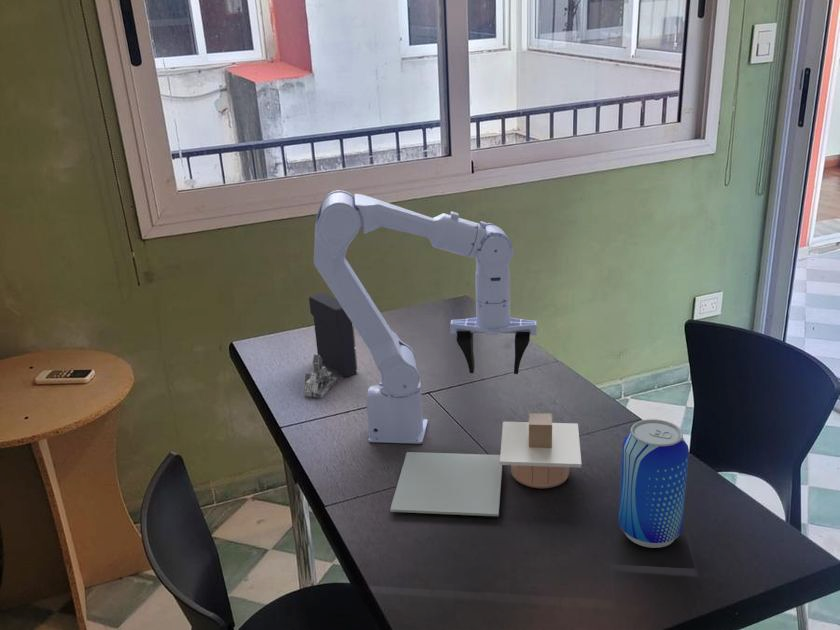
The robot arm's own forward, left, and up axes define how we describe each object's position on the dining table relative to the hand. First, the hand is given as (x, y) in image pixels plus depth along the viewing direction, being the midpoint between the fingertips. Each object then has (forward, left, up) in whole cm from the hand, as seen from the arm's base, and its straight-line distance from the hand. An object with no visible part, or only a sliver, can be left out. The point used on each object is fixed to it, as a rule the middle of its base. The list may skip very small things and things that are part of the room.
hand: (494, 371), depth 135 cm
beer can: (+23, -30, -10) cm, 39 cm away
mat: (-6, -20, -10) cm, 23 cm away
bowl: (+8, -16, -10) cm, 20 cm away
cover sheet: (+8, -16, -5) cm, 19 cm away
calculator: (-34, +21, -10) cm, 41 cm away
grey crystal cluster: (-37, +13, -10) cm, 41 cm away
